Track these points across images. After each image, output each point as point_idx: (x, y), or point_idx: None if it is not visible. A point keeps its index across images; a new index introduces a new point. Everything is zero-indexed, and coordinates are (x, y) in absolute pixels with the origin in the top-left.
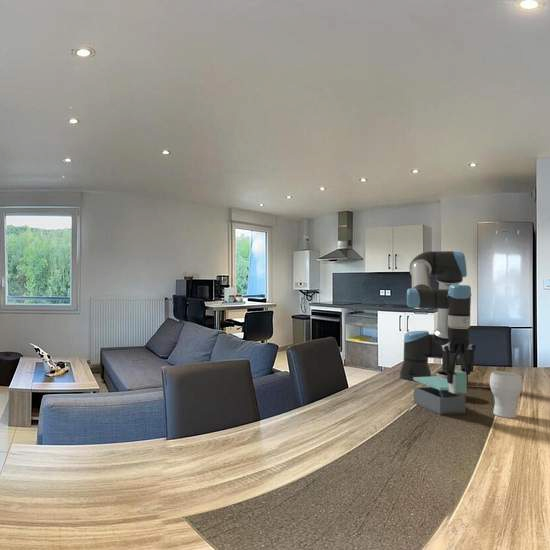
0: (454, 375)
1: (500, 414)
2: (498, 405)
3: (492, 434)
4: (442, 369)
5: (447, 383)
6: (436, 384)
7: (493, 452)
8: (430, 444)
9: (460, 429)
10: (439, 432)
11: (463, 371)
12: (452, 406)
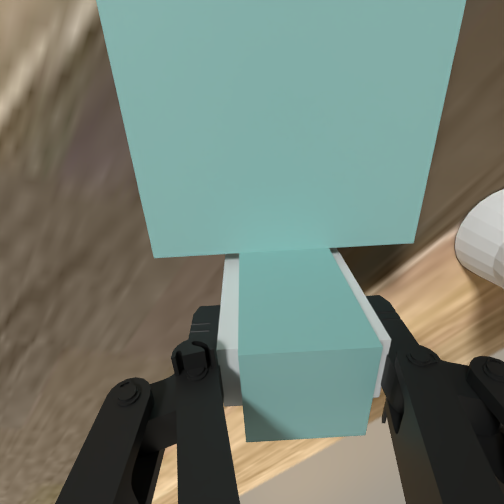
0: (231, 403)
1: (461, 254)
2: (494, 259)
3: None
4: (100, 409)
5: (316, 129)
6: (176, 154)
7: (169, 458)
8: (23, 416)
9: (178, 342)
10: (88, 355)
11: (395, 385)
12: None
